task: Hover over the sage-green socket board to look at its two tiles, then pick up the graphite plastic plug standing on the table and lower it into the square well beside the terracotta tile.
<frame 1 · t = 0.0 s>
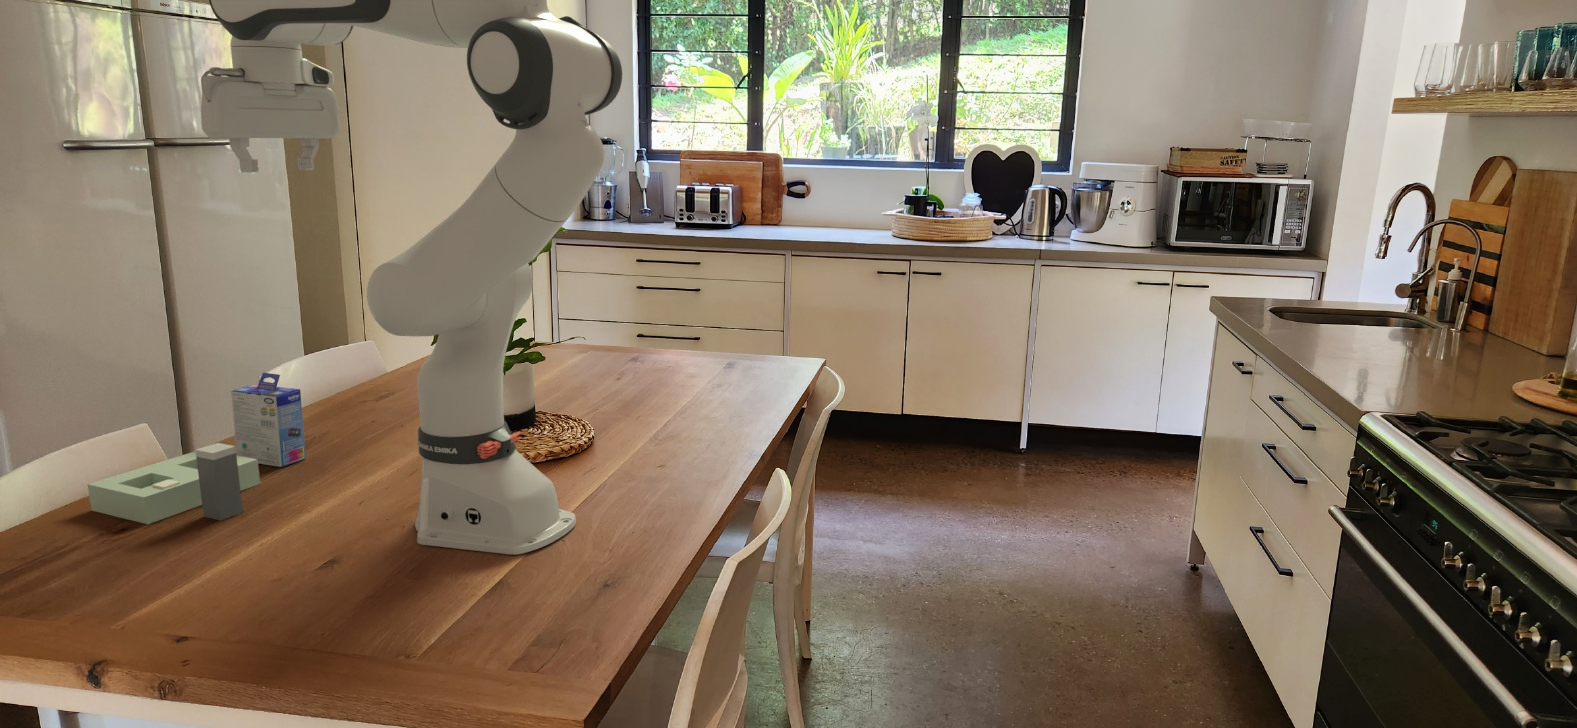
hand: (278, 171, 142), 48 cm above the table, fingers open, 8 cm apart
plug: (223, 514, 142), on the table
socket board: (179, 496, 149), on the table
ink cartridge box: (272, 461, 166), on the table
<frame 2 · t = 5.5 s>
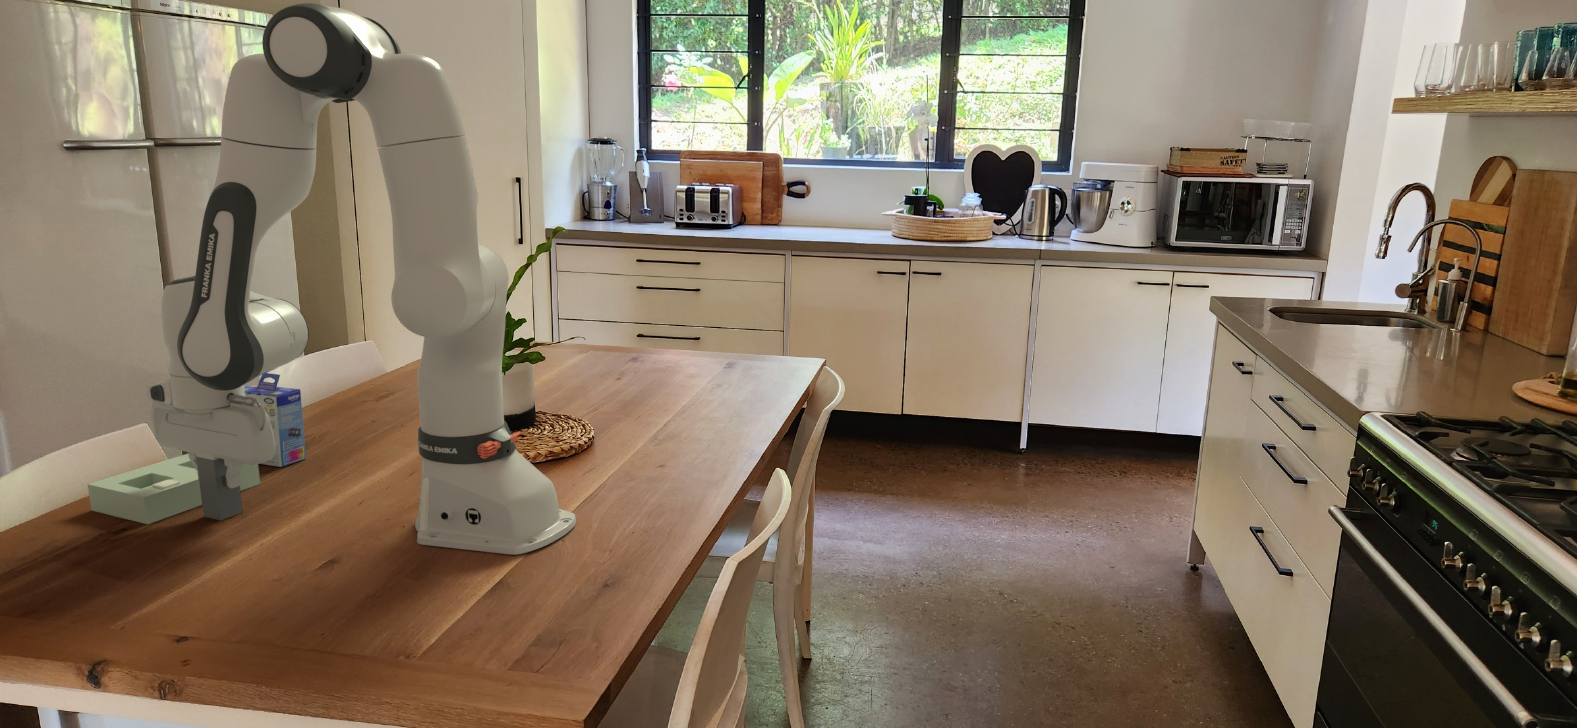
hand: (219, 483, 141), 5 cm above the table, fingers closed on plug, 3 cm apart
plug: (223, 514, 142), on the table, touching gripper
everything else where it was.
when the fingers open (6 cm above the table, at t = 11.1 s): plug drops 1 cm, resting in socket board.
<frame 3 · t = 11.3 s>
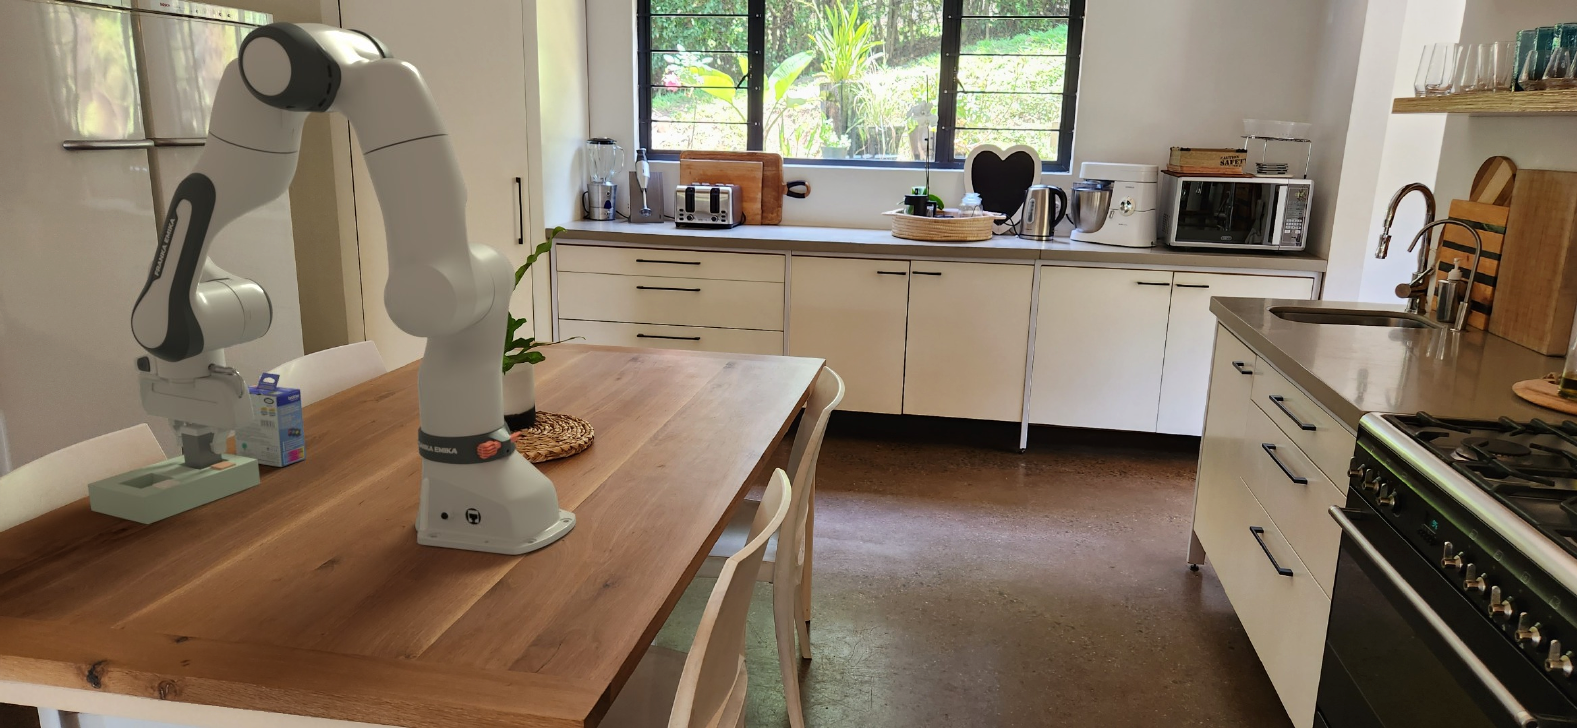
hand: (202, 449, 151), 6 cm above the table, fingers open, 6 cm apart
plug: (206, 487, 153), resting in socket board
everything else where it was.
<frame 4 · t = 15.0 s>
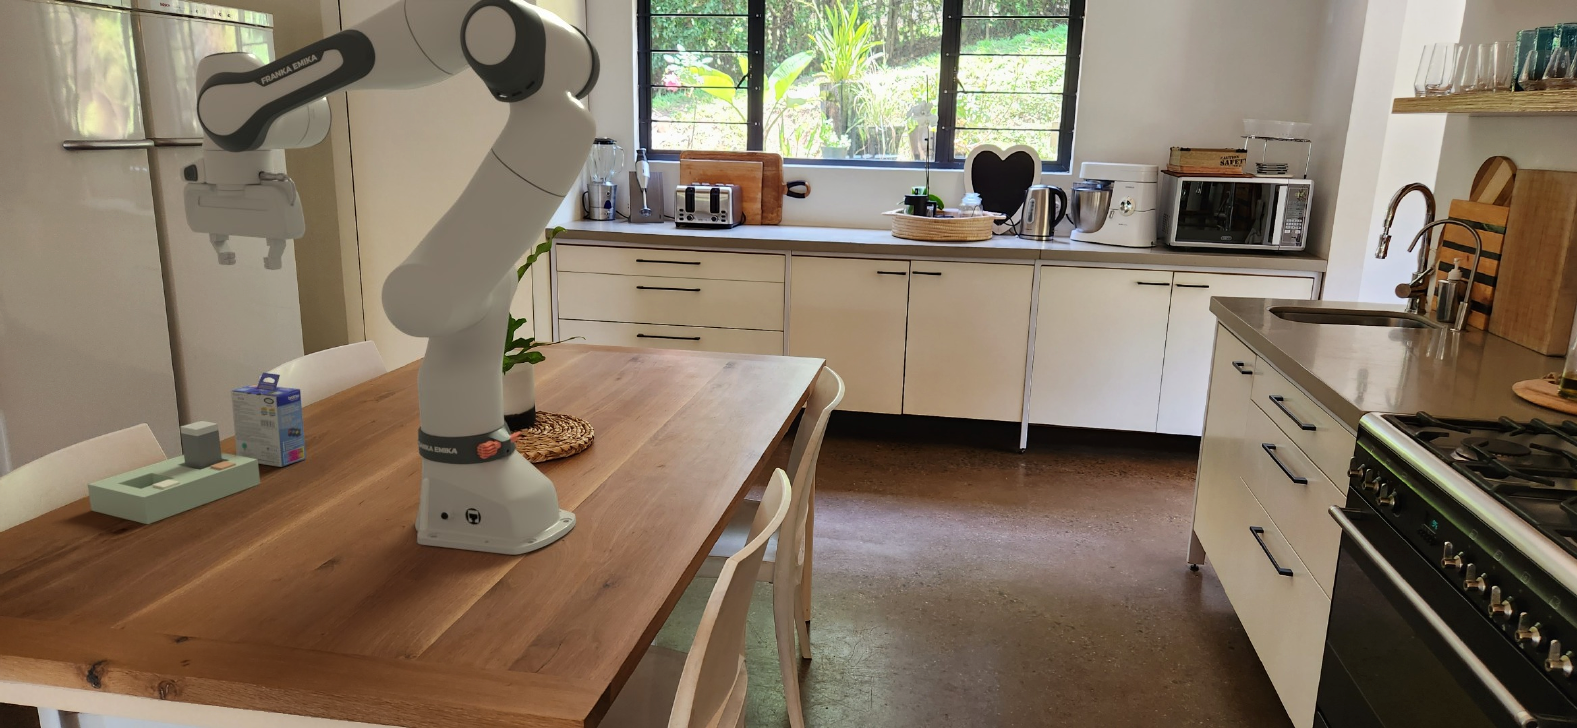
hand: (250, 267, 145), 34 cm above the table, fingers open, 8 cm apart
nothing on the table moved.
at the end: plug 0.1 cm from the target spot on the socket board, point 0.0 cm above the socket board's base; plug tilted 0°; the gripper is holding nothing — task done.
